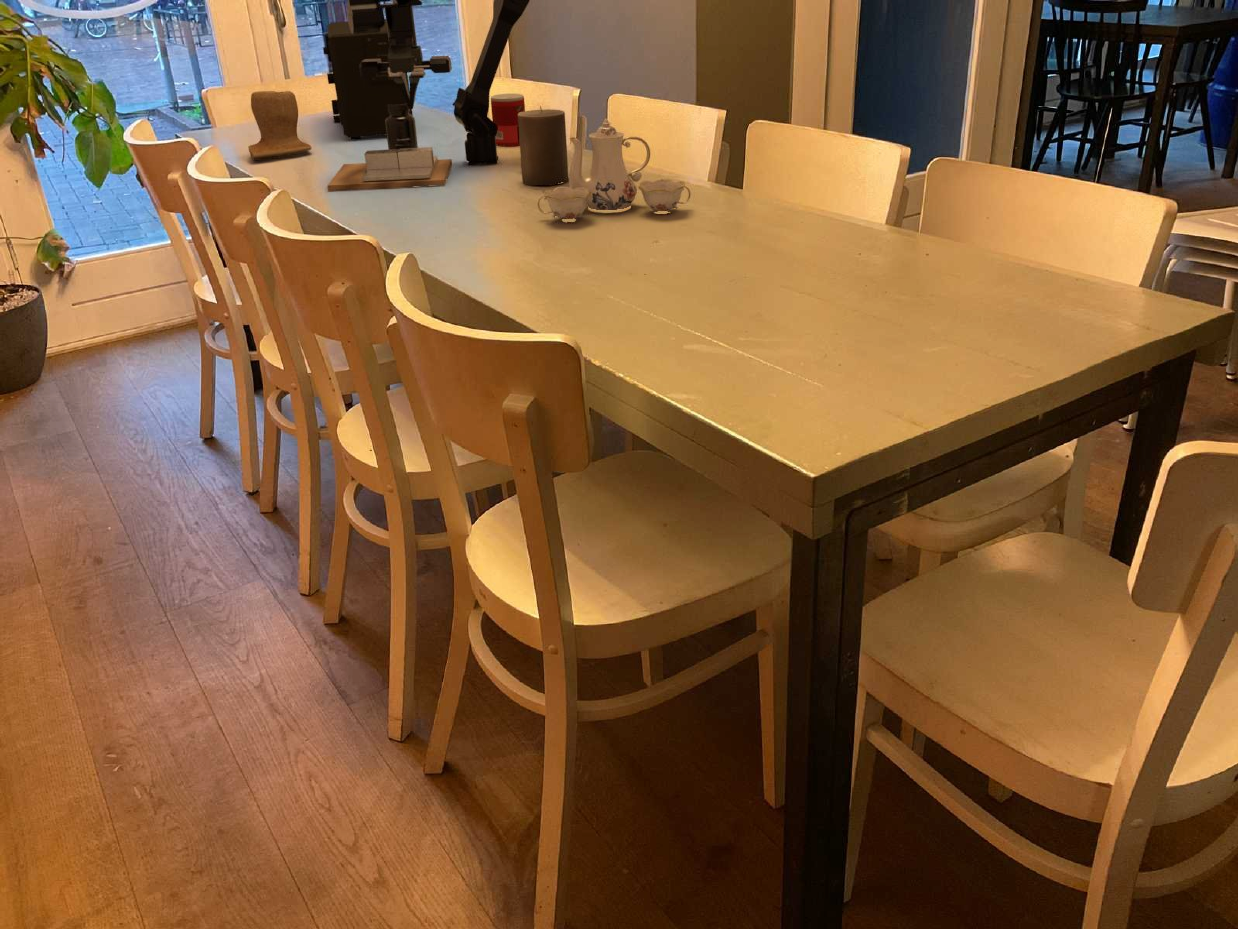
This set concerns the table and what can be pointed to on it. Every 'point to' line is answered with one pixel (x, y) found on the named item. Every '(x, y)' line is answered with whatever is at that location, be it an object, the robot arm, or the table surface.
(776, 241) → the table surface
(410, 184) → the board
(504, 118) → the canned food
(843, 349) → the table surface
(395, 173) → the loose leaf
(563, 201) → the chinaware
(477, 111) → the robot arm
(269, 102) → the brown chair-shaped stand
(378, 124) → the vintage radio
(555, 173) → the pillar candle
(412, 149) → the fixed leaf
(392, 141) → the supplement bottle
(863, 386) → the table surface
